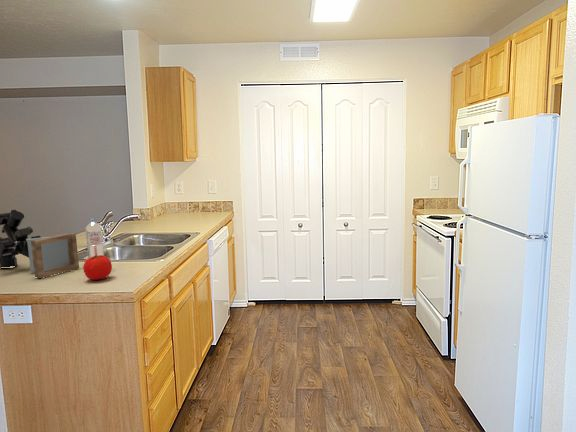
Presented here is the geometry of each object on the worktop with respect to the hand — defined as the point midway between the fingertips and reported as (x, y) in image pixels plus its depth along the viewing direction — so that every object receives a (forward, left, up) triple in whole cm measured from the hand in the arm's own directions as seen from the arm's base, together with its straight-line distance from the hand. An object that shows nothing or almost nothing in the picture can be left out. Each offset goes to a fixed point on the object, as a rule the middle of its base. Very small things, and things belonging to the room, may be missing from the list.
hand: (30, 257), depth 217 cm
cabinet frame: (+15, -7, -7) cm, 18 cm away
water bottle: (+33, -7, -7) cm, 34 cm away
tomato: (+38, -23, -7) cm, 45 cm away
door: (+9, -1, -7) cm, 11 cm away
